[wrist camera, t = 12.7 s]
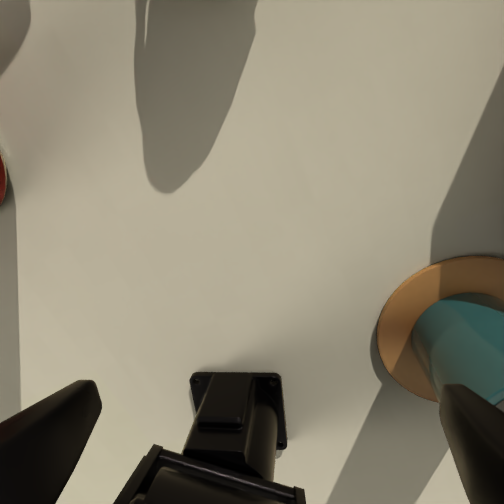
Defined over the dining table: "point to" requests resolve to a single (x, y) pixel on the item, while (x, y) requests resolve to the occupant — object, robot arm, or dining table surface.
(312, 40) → the dining table surface
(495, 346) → the cup
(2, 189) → the soda can
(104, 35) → the dining table surface
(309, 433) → the dining table surface
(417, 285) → the coaster
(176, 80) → the dining table surface
